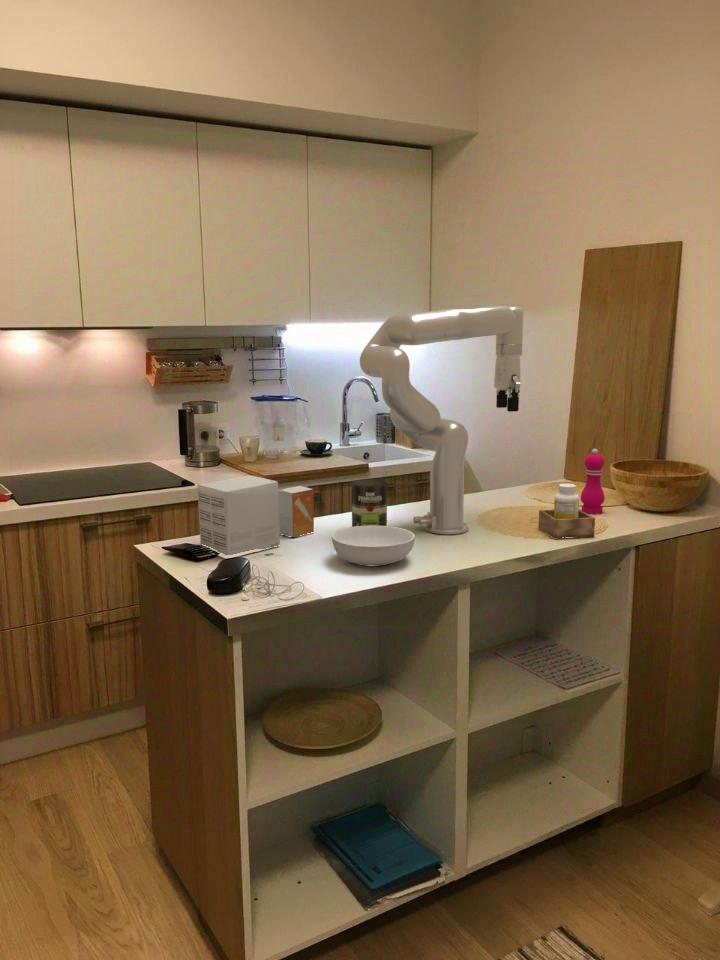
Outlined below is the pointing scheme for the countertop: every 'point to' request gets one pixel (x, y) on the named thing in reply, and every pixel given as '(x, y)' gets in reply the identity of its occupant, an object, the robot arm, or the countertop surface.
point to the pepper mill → (593, 484)
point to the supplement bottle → (566, 502)
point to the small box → (296, 511)
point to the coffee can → (369, 502)
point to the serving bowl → (373, 544)
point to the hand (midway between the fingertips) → (507, 409)
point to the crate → (567, 525)
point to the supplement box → (239, 514)
